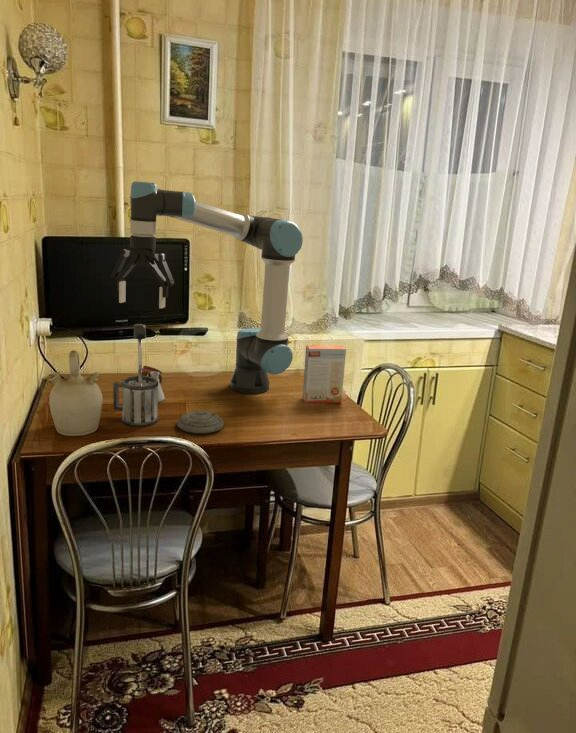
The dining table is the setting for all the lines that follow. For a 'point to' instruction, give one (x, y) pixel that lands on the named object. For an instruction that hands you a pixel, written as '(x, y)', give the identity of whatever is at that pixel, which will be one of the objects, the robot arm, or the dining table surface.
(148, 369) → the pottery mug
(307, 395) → the cracker box
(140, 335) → the plunger
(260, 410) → the dining table surface
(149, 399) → the press carafe
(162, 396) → the flask
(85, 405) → the jug
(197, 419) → the flying saucer
